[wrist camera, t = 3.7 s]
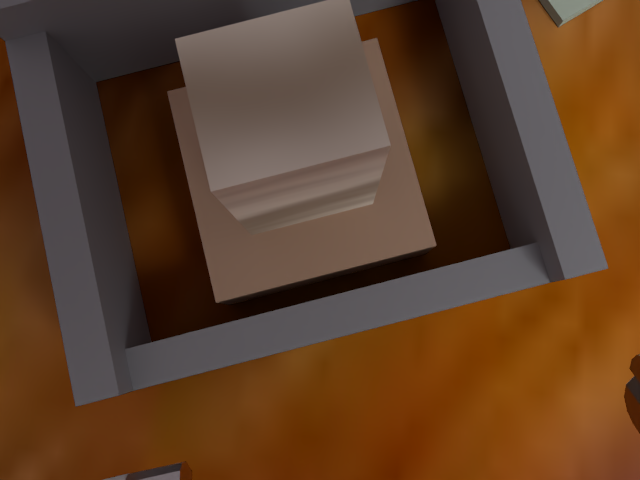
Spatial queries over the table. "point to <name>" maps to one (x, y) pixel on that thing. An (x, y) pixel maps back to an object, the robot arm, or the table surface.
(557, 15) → the mat
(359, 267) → the nook
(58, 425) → the table surface
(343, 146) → the block
